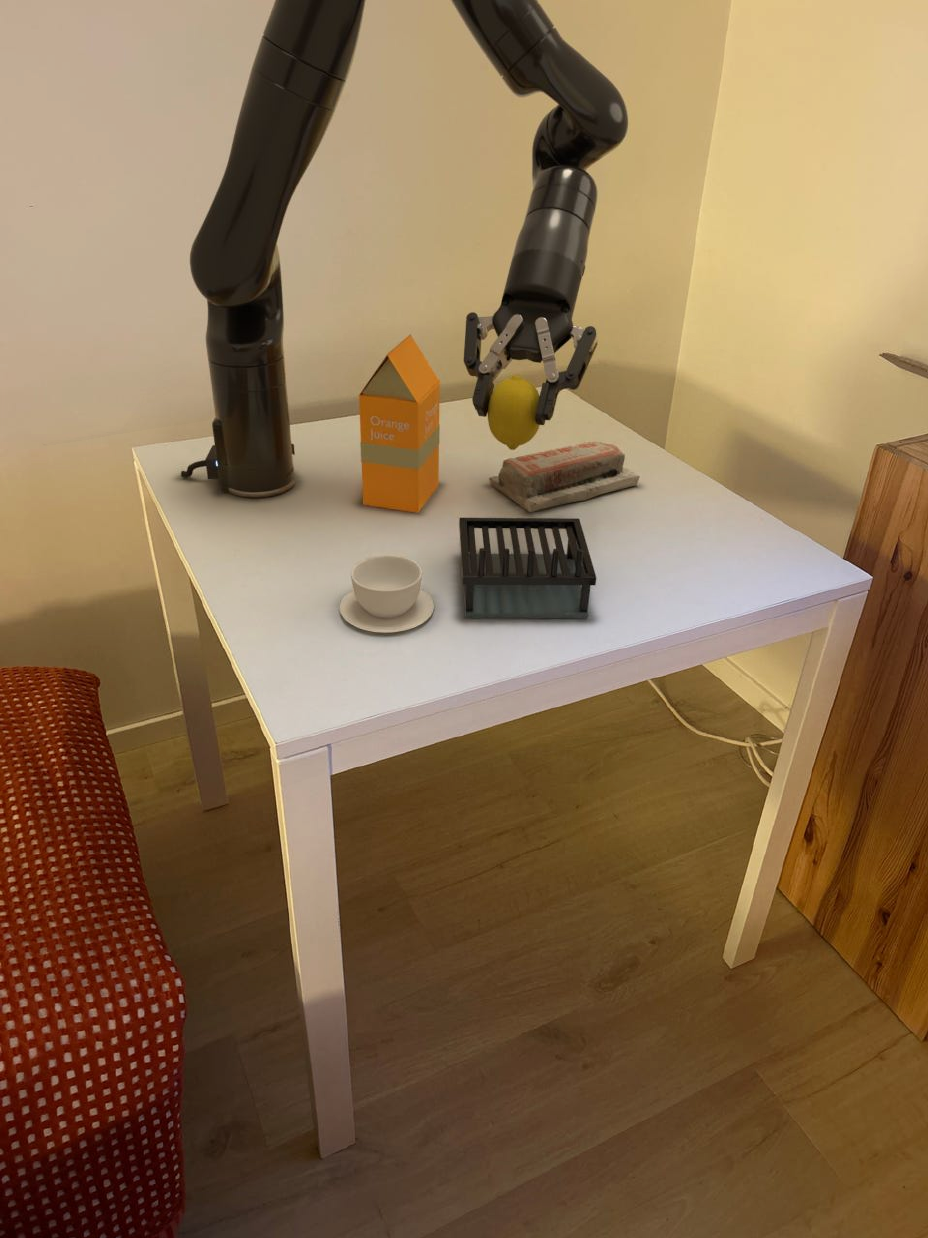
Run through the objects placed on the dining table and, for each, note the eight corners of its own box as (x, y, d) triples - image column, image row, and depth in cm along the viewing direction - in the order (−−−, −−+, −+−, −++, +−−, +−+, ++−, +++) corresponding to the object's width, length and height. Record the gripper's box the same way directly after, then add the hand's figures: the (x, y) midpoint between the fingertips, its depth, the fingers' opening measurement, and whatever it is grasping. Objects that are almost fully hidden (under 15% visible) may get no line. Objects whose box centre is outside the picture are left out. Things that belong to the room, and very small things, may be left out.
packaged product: (532, 480, 115) (489, 452, 123) (529, 515, 118) (488, 485, 125) (644, 453, 123) (598, 428, 130) (639, 486, 126) (594, 460, 133)
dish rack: (461, 619, 98) (463, 551, 93) (458, 556, 109) (459, 493, 104) (591, 619, 98) (599, 551, 94) (575, 557, 109) (582, 494, 105)
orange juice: (439, 485, 125) (441, 336, 114) (419, 513, 118) (418, 357, 107) (384, 477, 127) (381, 329, 116) (361, 504, 119) (355, 350, 108)
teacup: (451, 618, 98) (452, 580, 95) (367, 646, 93) (366, 607, 91) (404, 576, 105) (403, 540, 102) (324, 600, 100) (321, 563, 97)
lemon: (544, 443, 99) (550, 369, 94) (530, 463, 94) (536, 387, 90) (495, 435, 100) (498, 362, 96) (479, 455, 96) (481, 379, 91)
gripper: (474, 239, 95) (434, 391, 92) (613, 252, 91) (576, 411, 88) (487, 281, 102) (450, 423, 99) (617, 295, 98) (582, 442, 95)
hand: (510, 416), depth 94 cm, fingers closed on lemon, 5 cm apart
